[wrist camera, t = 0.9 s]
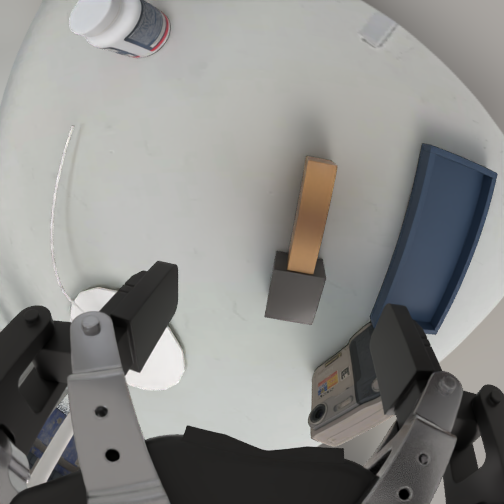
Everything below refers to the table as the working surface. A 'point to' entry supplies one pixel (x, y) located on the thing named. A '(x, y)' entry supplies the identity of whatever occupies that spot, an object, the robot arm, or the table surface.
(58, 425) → the building
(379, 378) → the robot arm
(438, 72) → the table surface
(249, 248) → the table surface
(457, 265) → the tray
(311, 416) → the camera
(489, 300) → the table surface
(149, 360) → the desk lamp
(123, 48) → the pill bottle
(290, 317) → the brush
